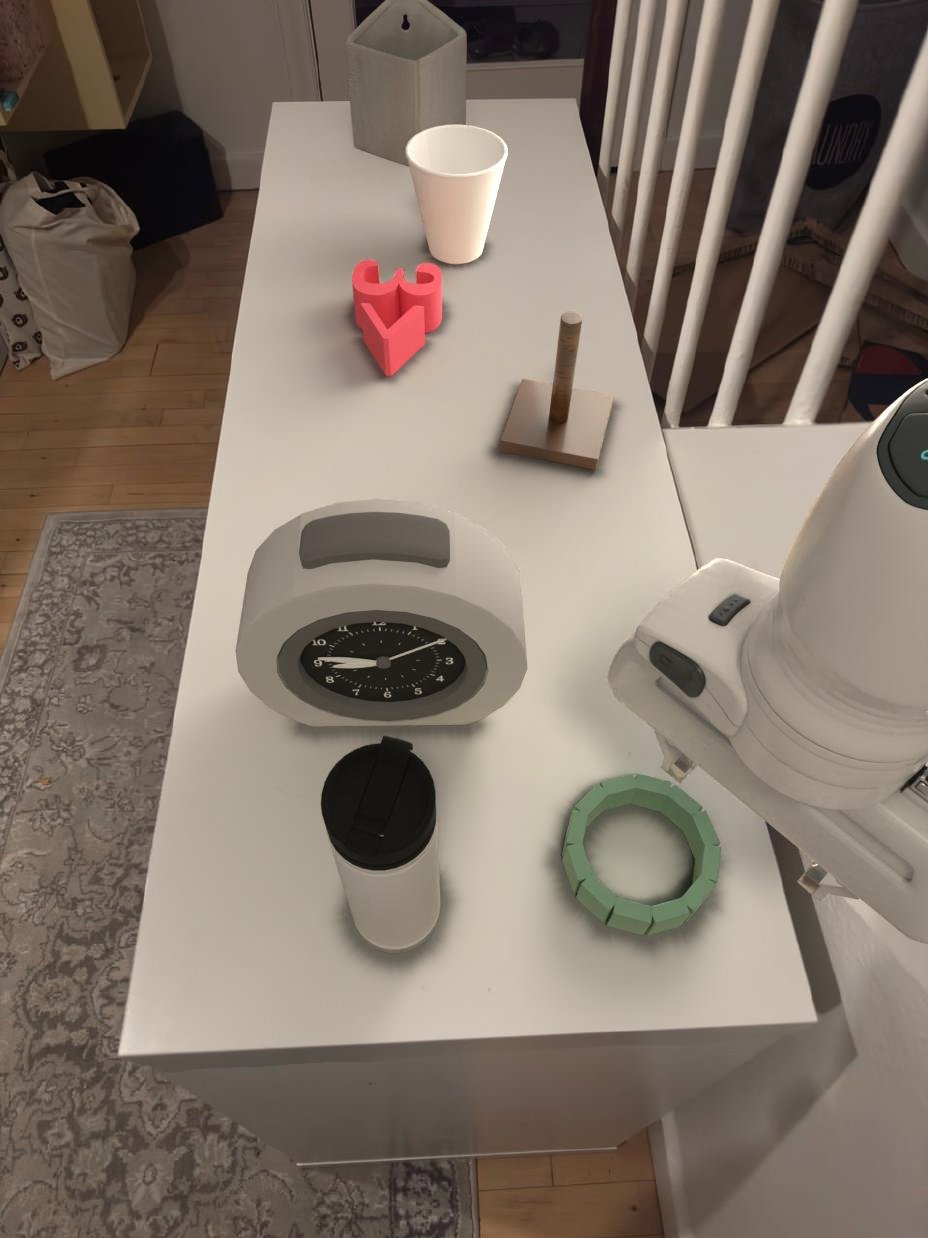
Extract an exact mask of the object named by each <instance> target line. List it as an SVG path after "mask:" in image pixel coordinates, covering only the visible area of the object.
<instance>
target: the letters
mask: <svg viewBox="0 0 928 1238" xmlns="http://www.w3.org/2000/svg"><path fill="white" fill-rule="evenodd" d="M353 268H354V269H353V271H352V274H351V285H352V286H351V287H352V296H353V297H352V298H353V305H354V315H355V323H356V324H357V326H358V327H359V328H360V329H362V337H363V342H364V343H365V345H366V347H367V348H368V350H369V352H370V353H371V355H372V356H373V358H374V360H375V361H376V363H377V364H378V366H379V367H380V369H381V371H382V372H383V374H384V375H385V377H393V376H394V375H395V373H397V372H398V371H399V370H400V369H401V368H402V367H403V366H404V365H405V364H406V363H407V362H409V360H410V359H411V358H412V357H413V356H414V355H416V354H417V352H418V351H419V350H421V349H422V348H423V346H425V345H426V334H429V333H432V332H434V331H436V330H437V329H438V328H439V326H441V323H442V320H443V273H442V270H441V268H440V267H439V266H438V265H436V264H435V263H431V262H423V263H420V264H419V265H418V266H417V268H416V271H415V276H416V277H415V278H416V283H414V282H410V281H407V280H406V279H405V273H404V269H403V268H395V271H394V276H393V277H392V278H391V279H390V280H388V281H386V282H384V283H383V282H382V283H381V281H380V270H379V263H378V262H377V261H376V260H374V259H363V260H361V261H360V262H358V263H357V264H356V265H355V266H354V267H353Z"/></svg>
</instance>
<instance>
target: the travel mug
mask: <svg viewBox="0 0 928 1238" xmlns="http://www.w3.org/2000/svg"><path fill="white" fill-rule="evenodd" d="M413 749H414V744H413V742H409V741H407V740H403V739H402V738H401V739H400V738H398V737H393V736H387V735H383V736H382V738H381V740H380V742H379V743H370V744H365V745H362V746H360V747H357V748H355V749H353V750H351V751H349V752H348V753H347V754H345V755H344V756H342V757H341V758H340V759H339V760H338V761H337V762H336V763H335V764H334V765H333V767H332V768H331V770H329V772H328V774H327V776H326V778H325V780H324V782H323V786H322V790H321V794H320V795H321V796H320V810H321V816H322V820H323V822H324V826H325V832H326V836H327V839H328V842H329V846H330V849H331V852H332V856H333V859H334V862H335V865H336V868H337V872H338V875H339V878H340V881H341V884H342V887H343V890H344V893H345V897H346V900H347V903H348V907H349V910H350V913H351V916H352V921H353V922H354V925H355V928H356V930H357V933H358V934H359V936H360V937H361V938H362V939H363V940H364V942H365V943H367V944H368V945H369V946H370V947H371V948H373V949H376V950H378V951H380V952H383V953H389V954H402V953H406V952H410V951H412V950H415V949H417V948H418V947H420V946H421V945H423V944H424V943H425V942H426V941H427V940H429V938H430V937H431V936H432V934H433V933H434V932H435V930H436V928H437V927H438V923H439V920H440V917H441V880H440V875H441V874H440V851H439V850H440V849H439V824H438V823H439V820H438V810H437V809H438V808H437V795H436V794H437V793H436V785H435V781H434V779H433V776H432V773H431V770H430V769H429V768H428V767H427V765H426V764H425V762H424V761H423V760H422V759H421V758H420V757H419V756H418V755H416V754H415V753H414V752H413Z"/></svg>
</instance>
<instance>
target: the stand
mask: <svg viewBox="0 0 928 1238" xmlns="http://www.w3.org/2000/svg"><path fill="white" fill-rule="evenodd" d="M582 325H583V316H582V315H581V313H579V312H577V311H573V310H570V311H569V310H568V311H565V312H563V313H561V315H560V319H559V327H558V328H559V329H558V336H557V337H558V338H557V345H556V354H555V361H554V372H553V378H552V379H553V380H552V383H549V382H544V381H539V380H533V379H527V378H522V379H521V381H520V384H519V387H518V389H517V392H516V395H515V398H514V401H513V404H512V407H511V410H510V412H509V415H508V417H507V420H506V423H505V427H504V429H503V432H502V434H501V437H500V442H499V452H502V453H506V454H512V455H518V456H521V457H527V458H531V459H532V458H533V459H538V460H542V461H548V462H553V463H558V464H563V465H568V466H574V467H579V468H583V469H587V470H588V469H589V470H593V471H596V470H597V467H598V463H599V459H600V455H601V452H602V448H603V444H604V439H605V435H606V432H607V428H608V423H609V420H610V416H611V412H612V408H613V403H614V399H615V395H614V394H609V393H603V392H597V391H592V390H588V389H587V390H586V389H583V388H582V389H581V388H576V387H574V381H575V375H576V367H577V361H578V353H579V346H580V345H579V344H580V339H581V331H582Z"/></svg>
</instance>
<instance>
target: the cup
mask: <svg viewBox="0 0 928 1238" xmlns="http://www.w3.org/2000/svg"><path fill="white" fill-rule="evenodd" d="M405 150H406V157H407V159H408V163H409V166H408V167H409V171H410V176H411V180H412V183H413V188H414V191H415V196H416V200H417V203H418V208H419V212H420V216H421V221H422V225H423V228H424V233H425V237H426V242H427V245H428V250H429V253H430V254H431V256H432V257H433V258H435V259H436V260H438V261H440V262H443V263H445V264H450V265H451V264H452V265H461V264H468V263H470V262H473V261H475V260H477V259H478V258H480V257H481V255H482V254H483V250H484V247H485V244H486V240H487V235H488V232H489V227H490V223H491V219H492V215H493V211H494V208H495V203H496V199H497V195H498V191H499V187H500V183H501V180H502V175H503V172H504V167H505V164H506V160H507V157H508V155H509V152H508V146H507V144H506V143H505V141H504V140H503V138H502V137H500V136H499V135H497V133H495V132H493V131H490V130H488V129H485V128H483V127H479V126H474V125H468V124H466V125H443V126H436V127H433V128H429V129H426V130H423V131H422V132H420V133H418V134H416V135H415V136H414V137H413V138H411V139H410V140H409V142H408V144H407V146H406V148H405Z"/></svg>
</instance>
